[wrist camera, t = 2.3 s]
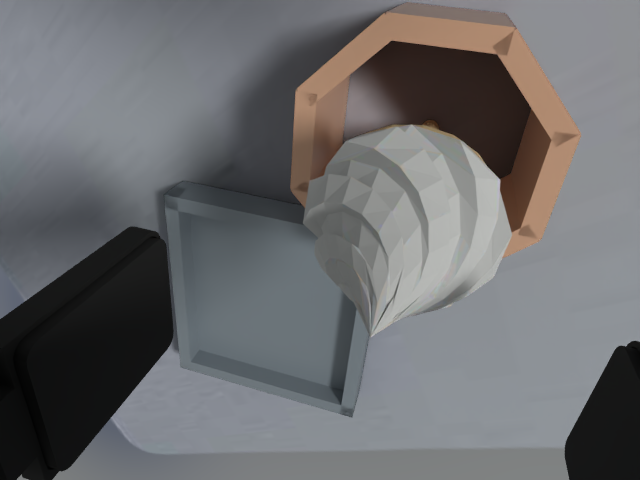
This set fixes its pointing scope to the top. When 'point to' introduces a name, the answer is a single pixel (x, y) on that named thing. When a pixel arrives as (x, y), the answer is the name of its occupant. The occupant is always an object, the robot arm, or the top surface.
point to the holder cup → (458, 33)
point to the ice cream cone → (407, 222)
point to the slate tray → (260, 299)
